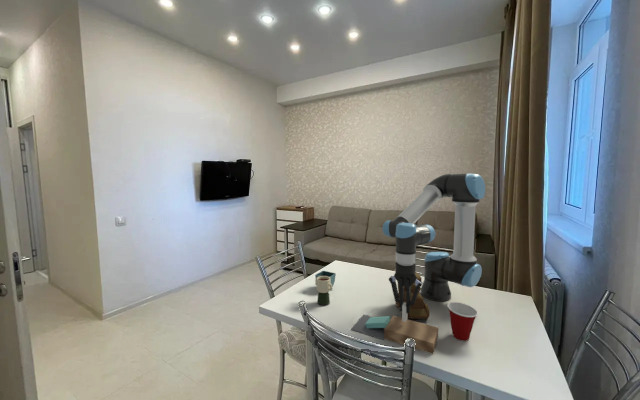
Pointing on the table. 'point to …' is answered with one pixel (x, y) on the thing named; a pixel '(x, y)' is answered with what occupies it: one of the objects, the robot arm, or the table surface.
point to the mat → (372, 332)
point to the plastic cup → (461, 319)
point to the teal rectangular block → (377, 322)
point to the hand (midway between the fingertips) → (404, 319)
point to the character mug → (323, 289)
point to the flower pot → (326, 273)
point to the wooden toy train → (416, 303)
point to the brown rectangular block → (412, 333)
